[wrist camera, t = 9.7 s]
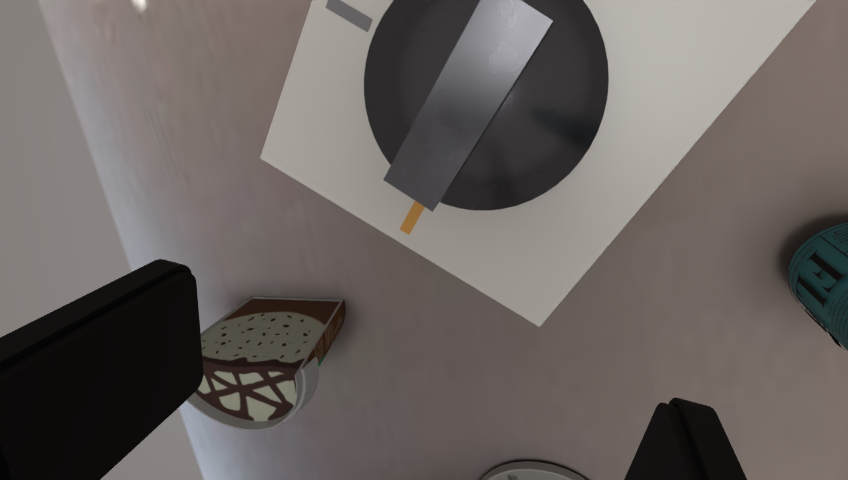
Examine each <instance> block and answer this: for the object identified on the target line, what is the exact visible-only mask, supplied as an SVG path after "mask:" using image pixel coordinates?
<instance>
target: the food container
mask: <svg viewBox="0 0 848 480" xmlns="http://www.w3.org/2000/svg"><path fill="white" fill-rule="evenodd" d="M344 317H345V301H344V299H328V298H298V297H268V296H251V297H250V298H249V299H247V300H246V301H245V302H243V303H242V304H240V305H239V306H238V307H236V308H235V309H234V310H232V311H231V312H229V313H228V314H227V315H225V316H224V317H223V318H221V319H220V320H218V321H217V322H216V323H214V324H213V325H212V326H210V327H209V328H208V329H206V330H205V331H203V332H202V333H201V347H202V359H203V371H204V376H203V380H202V383H201V385H200V386H199V388H198V389H197V390H196V392H195V393H194V394H192V395H191V396H190V397H189V398H188V399H187V400H186V401H188V402H189V403H190V404H191V405H192V406H193V407H194V408H196V409H197V410H199V411H200V412H201V413H203V414H204V415H206V416H208V417H209V418H211V419H213V420H215V421H217V422H219V423H222V424H224V425H226V426H230V427H233V428H236V429H241V430H249V431H260V430H267V429H270V428H274V427H276V426H278V425H280V424H281V423H283V422H285V421H287V420H289V419H290V418H291V417H292V416H294V415H295V414H296V413H297V412H298V411H299V410H300V409H301V408H302V407H304V406H305V405H306V404H307V403H308V402H309V400H310V399H311V398H312V396H313V394H314V392H315V390H316V387H317V383H318V376H319V366H320V364H321V362H322V361H323V359H324V357H325V355H326V353H327V352H328V350H329V348H330V346H331V344H332V343H333V341H334V339H335V337H336V336H337V334H338V332H339V330H340V328H341V326H342V324H343V322H344Z"/></svg>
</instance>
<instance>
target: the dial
mask: <svg viewBox="0 0 848 480" xmlns="http://www.w3.org/2000/svg"><path fill="white" fill-rule="evenodd" d="M608 84H609V74H608V60H607V55H606V49H605V44H604V41H603V38H602V35H601V32H600V29H599V26H598V24H597V23H596V21H595V19H594V17H593V15H592V13H591V11H590V9H589V8H588V6H587V5H586V4H585V2H584V1H583V0H393V2H392V3H391V5H390V6H389V7H388V9H387V10H386V12H385V13H384V15H383V16H382V18H381V20H380V22H379V24H378V26H377V28H376V30H375V33H374V35H373V38H372V41H371V43H370V46H369V50H368V55H367V59H366V64H365V73H364V98H365V107H366V112H367V116H368V121H369V124H370V127H371V130H372V133H373V135H374V138H375V140H376V142H377V144H378V146H379V148H380V150H381V152H382V153H383V155H384V156H385V158H386V159H387V161H388V162H389V164H390V165H391V166H390V168H389V170H388V172H387V174H386V175H385V177H384V179H383V180H384V181H386V182H387V183H389V184H390V185H392V186H393V187H395V188H396V189H398V190H399V191H401V192H403V193H404V194H406V195H407V196H409V197H410V198H412V199H413V200H415V201H417V202H418V203H420V204H421V205H423V206H424V207H426V208H427V209H429V210H430V211H432V212H433V211H434V209H435V208H436V206H437V205H438V204H439V202H440V203H443V204H445V205H449V206H453V207H456V208H461V209H467V210H481V211H489V210H498V209H505V208H509V207H513V206H517V205H520V204H523V203H525V202H528V201H531V200H533V199H535V198H537V197H539V196H540V195H542V194H544V193H546V192H547V191H549V190H550V189H552V188H553V187H555V186H556V185H557V184H559V183H560V182H561V181H562V180H563V179H564V178H565V177H567V176H568V175H569V174H570V173H571V172H572V170H573V169H574V168H575V167H576V166H577V165H578V164H579V162H580V161H581V160H582V158H583V157H584V155H585V154H586V152H587V151H588V150H589V148H590V146H591V144H592V142H593V140H594V138H595V136H596V134H597V132H598V130H599V127H600V124H601V121H602V119H603V116H604V111H605V107H606V102H607V96H608Z"/></svg>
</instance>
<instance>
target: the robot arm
mask: <svg viewBox="0 0 848 480" xmlns="http://www.w3.org/2000/svg"><path fill="white" fill-rule="evenodd" d="M203 376H204V371H203V359H202V347H201V334H200V322H199V310H198V298H197V286H196V279H195V277H194V275H192V273H191V270H190V269H189V267H187V266H185V265H182V264H178V263H175V262H171V261H167V260H162V259H159V260H155V261H153V262H151V263H149V264H147V265H145V266H143V267H141V268H139V269H137V270H135V271H133V272H131V273H129V274H127V275H125V276H123V277H121V278H119V279H117V280H115V281H113V282H111V283H109V284H107V285H105V286H103V287H101V288H99V289H97V290H95V291H93V292H91V293H89V294H87V295H85V296H83V297H81V298H79V299H77V300H75V301H73V302H71V303H69V304H67V305H65V306H63V307H61V308H59V309H57V310H55V311H53V312H51V313H49V314H47V315H45V316H43V317H41V318H39V319H37V320H35V321H33V322H31V323H29V324H27V325H25V326H23V327H21V328H19V329H17V330H15V331H13V332H11V333H9V334H7V335H5V336H3V337H1V338H0V480H100V479H101V478H102V477H103V476H104V475H106V474H107V473H108V472H109V471H110V470H111V469H112V468H113V467H114V466H115V465H116V464H118V463H119V462H120V461H121V460H122V459H123V458H124V457H125V456H126V455H127V454H128V453H129V452H131V451H132V449H134V448H135V447H136V446H137V445H138V444H139V443H140V442H141V441H142V440H144V439H145V438H146V437H147V436H148V435H149V434H150V433H151V432H152V431H153V430H154V429H156V428H157V427H158V426H159V425H160V424H161V423H162V422H163V421H164V420H165V419H166V418H167V417H169V416H170V415H171V414H172V413H173V412H174V411H175V410H176V409H177V408H178V407H179V406H180V405H182V404H183V403H184V402H185V401H186V400H187V399H188V398H189V397H190V396H191V395H192V394H194V393H195V392H196V390H197V389H198V388H199V386H200V385H201V383H202V380H203ZM481 480H586V479H584V478H583V477H581V476H580V475H578V474H576V473H574V472H571V471H569V470H567V469H565V468H562V467H559V466H556V465H552V464H547V463H542V462H529V461H523V462H513V463H509V464H505V465H501V466H499V467H497V468H495V469H493V470H491V471H490V472H488V473H487V474H486V475H485V476H483V478H482V479H481ZM624 480H747V479H746V476H745V474H744V472H743V470H742V468H741V466H740V463H739V461H738V459H737V457H736V455H735V453H734V450H733V448H732V446H731V444H730V442H729V440H728V437H727V435H726V433H725V431H724V429H723V427H722V424H721V422H720V420H719V418H718V416H717V414H716V412H715V410H714V409H713V408H711V407H709V406H706V405H702V404H698V403H695V402H691V401H687V400H683V399H680V398H673V399H672V400H671V401H670V402H669V404H666V403H659V404H658V406H657V407H656V409H655V412H654V414H653V416H652V418H651V421H650V423H649V425H648V427H647V430H646V432H645V434H644V436H643V439H642V441H641V443H640V445H639V448H638V450H637V452H636V455H635V457H634V459H633V461H632V464H631V466H630V468H629V470H628V473H627V475H626V477H625V479H624Z"/></svg>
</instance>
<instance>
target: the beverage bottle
mask: <svg viewBox="0 0 848 480" xmlns="http://www.w3.org/2000/svg"><path fill="white" fill-rule="evenodd" d="M788 276H789V282H790V285H791V288H792V291H793V293H794V294H795V296H796V297H797V299H798V300H799V301H800V302H801V303H802V304H803V305H804V306H805V307H806V310H807V309H808V310H809V312H810V314H812V315H813V316H814V318H815V319H816V320H817V321H816V320H815V319H814V318H813V317H812V316H811V315H810V314H809V313H807V312H808V311H807V312H806V311H805V312H806V313H807V314H808V315H809V316H810V317H811V318H812V319H813V320H814V321H815V322H816V323H817V324H818V325H819V326H820V327H821V328H822V329H824V330H825V331H826V332H828V333H829V334H830V336H831V337H832V339H833V340H834V341H835V343H836V344H837V345H839V346H840V344H839V342H840V343H841V344H842V345H843V346H844V347H845V348H846V350H847V351H848V222H847V223H842V224H838V225H835V226H832V227H829V228H827V229H825V230H822V231H820V232H819V233H817V234H815V235H814V236H812V237H811V238H809V239H808V240H807V241H806V242H804V243H803V244H802V245H801V246H800V247H799V248H798V250H797V251H796V252H795V254H794V256H793V257H792V259H791V262H790V265H789V271H788ZM790 285H789V288H790ZM790 291H791V290H790ZM791 294H792V293H791ZM792 296H793V295H792ZM793 298H794V297H793ZM795 299H796V298H795ZM797 299H796V300H795V301H797ZM802 308H803V307H802ZM804 310H805V309H804ZM820 323H821V324H822V325H823V326H824V327H823V326H822V325H821V324H820ZM825 328H826V329H827V330H828V331H827V330H826V329H825ZM840 347H841V346H840ZM841 348H842V347H841ZM844 350H845V349H844Z"/></svg>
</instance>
